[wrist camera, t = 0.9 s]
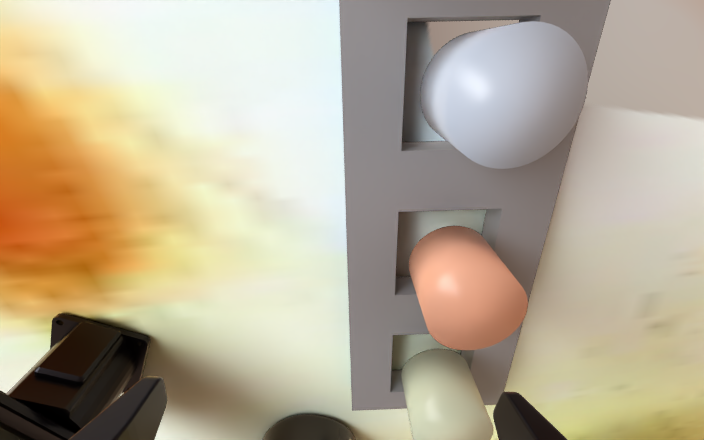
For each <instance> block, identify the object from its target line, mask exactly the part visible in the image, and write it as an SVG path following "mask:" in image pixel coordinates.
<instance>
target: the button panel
mask: <svg viewBox="0 0 704 440" xmlns="http://www.w3.org/2000/svg"><path fill="white" fill-rule="evenodd" d="M610 1H611V0H339V3H340V35H341V67H342V99H343V131H344V163H345V195H346V227H347V259H348V291H349V323H350V355H351V387H352V411H353V410H377V409H401V408H407V405H406V400H405V394H404V389H403V384H402V378H401V372H402V370H391V365H392V343H393V335H412V334H430V333H429V331H428V328H427V326H426V322H425V319H424V316H423V313H422V310H421V307H420V304H419V300H418V297H417V294H416V291H415V288H414V285H413V282H412V278H411V276H406V277H396V256H397V235H398V213H399V212H408V211H440V210H473V209H486V214H485V220H484V225H483V231H482V237H483V238H484V239H485V240H486V241H487V243H488V244H489V245H490V246H491V248H492V249H493V250H494V252H495V253H496V254H497V255H498V257H499V258H500V259H501V260H502V262H503V263H504V264H505V266H506V267H507V268H508V269H509V271H510V272H511V273H512V274H513V276H514V277H515V278H516V279H517V281H518V282H519V283H520V285H521V286H522V287H523V289H524V290H525V292H526V295H527V300H528V301H529V297H530V294H531V290H532V286H533V283H534V279H535V275H536V272H537V268H538V264H539V261H540V257H541V253H542V250H543V246H544V242H545V239H546V235H547V231H548V228H549V224H550V221H551V217H552V213H553V210H554V206H555V202H556V199H557V195H558V191H559V188H560V184H561V180H562V177H563V173H564V169H565V166H566V162H567V158H568V155H569V151H570V147H571V144H572V140H573V136H574V133H575V129H576V125H577V122H578V119H577V121H576V123H575V124H574V126H573V128H572V129H571V130H570V132H569V133H568V134H567V136H566V137H565V138H564V139H563V140H562V141H561V142H560V143H559V144H558V145H557V146H556V147H555V148H554V149H553V150H551V151H550V152H549V153H547V154H546V155H544V156H543V157H541V158H539V159H538V160H536V161H533V162H531V163H529V164H526V165H523V166H520V167H515V168H509V169H495V168H489V167H485V166H482V165H480V164H478V163H476V162H474V161H472V160H471V159H469V158H468V157H466V156H465V155H464V154H463V153H461V152H460V151H459V150H458V149H456V148H455V147H454V146H453V145H451V144H450V143H449V142H448V141H431V142H402V126H403V105H404V83H405V61H406V40H407V22H431V21H477V20H478V21H479V20H519V23H521V22H530V21H536V22H545V23H549V24H552V25H555V26H557V27H560V28H561V29H563V30H564V31H566V32H567V33H568V34H569V35H570V36H572V37H573V38H574V40H575V41H576V42H577V43H578V45H579V46H580V48H581V50H582V52H583V54H584V57H585V60H586V64H587V70H588V82H589V78H590V74H591V70H592V67H593V63H594V60H595V56H596V52H597V48H598V45H599V41H600V37H601V34H602V30H603V26H604V23H605V19H606V16H607V12H608V8H609V5H610ZM578 118H579V117H578ZM522 323H523V321H522ZM522 323H521V324H520V326H519V327H518V328H517V329H516V330H515V331H514V332H513V333H512V334H511V335H510V336H508V337H507V338H506V339H504V340H502V341H501V342H499V343H497V344H495V345H492V346H489V347H486V348H483V349H477V350H462V351H461V356H462V357H464V359H465V360H466V362H467V364H468V367H469V369H470V372H471V374H472V376H473V379H474V381H475V384H476V386H477V389H478V391H479V393H480V396H481V398H482V401H483V403H484V405H496V404H497V402H498V400H499V398H500V396H501V394H502V393H503V392H504V389H505V385H506V381H507V378H508V374H509V370H510V367H511V363H512V360H513V356H514V352H515V349H516V345H517V341H518V338H519V334H520V330H521V327H522Z"/></svg>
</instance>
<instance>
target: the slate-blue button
mask: <svg viewBox="0 0 704 440" xmlns="http://www.w3.org/2000/svg"><path fill="white" fill-rule="evenodd" d="M587 87H588V70H587V64H586V60H585V57H584V54H583V52H582V50H581V48H580V46H579V45H578V43H577V42H576V41H575V40H574V38H573V37H572V36H570V35H569V34H568V33H567V32H566V31H564V30H563V29H561V28H560V27H557V26H555V25H552V24H549V23H545V22H536V21H530V22H521V23H515V24H510V25H506V26H500V27H495V28H489V29H484V30H479V31H475V32H469V33H466V34H463V35H460V36H458V37H456V38H454V39H452V40H451V41H449V42H448V43H446V44H445V45H444V46H443V47H442V48H441V49H440V50H439V51H438V52H437V53H436V54H435V55H434V57H433V58H432V60H431V61H430V63H429V64H428V66H427V68H426V70H425V73H424V76H423V79H422V83H421V89H420V102H421V108H422V112H423V114H424V117H425V119H426V121H427V122H428V124H429V125H430V127H431V128H432V129H433V130H434V131H435V132H436V133H437V134H439V135H440V136H441V137H443V138H444V139H445V140H446V141H448V142H449V143H450V144H451V145H453V146H454V147H455V148H456V149H458V150H459V151H460V152H461V153H463V154H464V155H465V156H466V157H468V158H469V159H471V160H472V161H474V162H476V163H478V164H480V165H482V166H485V167H489V168H495V169H509V168H515V167H520V166H523V165H526V164H529V163H531V162H533V161H536V160H538V159H539V158H541V157H543V156H544V155H546V154H547V153H549V152H550V151H551V150H553V149H554V148H555V147H556V146H557V145H558V144H559V143H560V142H561V141H562V140H563V139H564V138H565V137H566V136H567V134H568V133H569V132H570V130H571V129H572V128H573V126H574V124H575V123H576V121H577V119H578V117H579V115H580V113H581V111H582V108H583V105H584V102H585V98H586V94H587Z"/></svg>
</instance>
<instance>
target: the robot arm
mask: <svg viewBox="0 0 704 440" xmlns="http://www.w3.org/2000/svg"><path fill="white" fill-rule="evenodd" d="M149 345H150V339H149V337H147V336H145V335H142V334H138V333H134V332H130V331H127V330H123V329H119V328H116V327H112V326H108V325H104V324H101V323H97V322H93V321H90V320H86V319H82V318H78V317H75V316H71V315H67V314H62V313H61V314H58V315H57V316H56V317H54V318H53V320H52V331H51V345H50V350H49V351H48V352H47V353H46V354H45V355H44V356H43V357H42V358H41V359H40V360H39V361H38V362H37V363H36V364H35V365H34V366H33V367H32V368H31V369H30V370H29V371H28V372H27V373H26V374H25V375H24V376H23V377H22V378H21V379H20V380H19V381H18V382H17V383H16V384H15V385H14V386H13V387H12V388H11V389H10V390H9V391H8V392H7V393H4V392H2V391H0V440H154V439H155V436H156V433H157V430H158V428H159V425H160V422H161V419H162V416H163V414H164V411H165V408H166V404H167V394H166V389H165V384H164V380H163V378H162V377H158V376H146V377H144V378H142V374H143V370H144V366H145V362H146V358H147V354H148V349H149ZM141 378H142V379H141ZM122 392H124V394H123V395H121V393H122ZM120 395H121V396H120ZM119 396H120V397H119ZM493 417H494V422H495V426H496V430H497V434H498V438H499V440H567V439H566V438H565V437H564V436H563V435H562V434H561V433H560V432H559V431H558V430H557V429H556V428H555V427H554V426H553V425H552V424H551V423H550V422H549V421H548V420H547V419H545V418H544V417H543V416H542V415H541V414H540V413H539V412H538V411H537V410H536V409H535V408H534V407H533V406H532V405H531V404H530V403H529V402H528V401H527V400H526V399H525V398H524V397H522V396H521V395H520V394H519V393H516V392H503V393H502V394H501V396H500V398H499V400H498V402H497V404H496V406H495V409H494V413H493Z"/></svg>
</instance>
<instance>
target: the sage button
mask: <svg viewBox="0 0 704 440" xmlns="http://www.w3.org/2000/svg"><path fill="white" fill-rule="evenodd" d="M401 378H402V384H403V389H404V394H405V400H406V405H407V410H408V416H409V421H410V426H411V431H412V437H413V440H490V439H491V437H492V435H493V425H492V423H491V420H490V418H489V415H488V413H487V410H486V408H485V406H484V403H483V401H482V398H481V396H480V393H479V391H478V389H477V386H476V384H475V381H474V379H473V376H472V374H471V372H470V369H469V367H468V364H467V362H466V360H465V359H464V357H462V356H461V355H460V354H459V353H457V352H455V351H452V350H448V349H431V350H426V351H423V352H421V353H418V354H416V355H415V356H413V357H412V358H410V359H409V360H408V361H407V362H406V364H405V365H404V367H403V369H402V372H401Z"/></svg>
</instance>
